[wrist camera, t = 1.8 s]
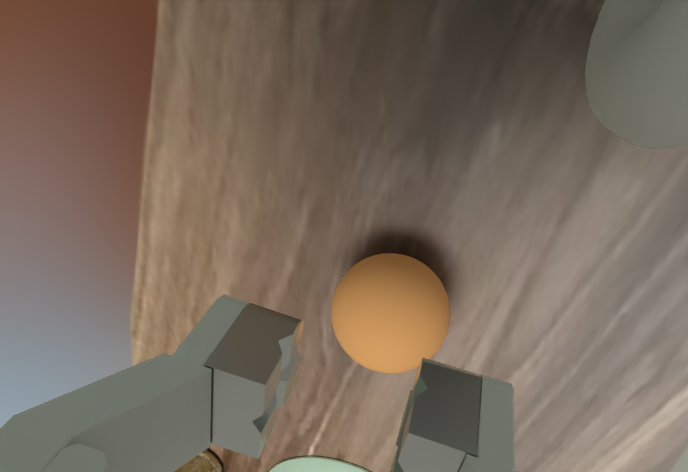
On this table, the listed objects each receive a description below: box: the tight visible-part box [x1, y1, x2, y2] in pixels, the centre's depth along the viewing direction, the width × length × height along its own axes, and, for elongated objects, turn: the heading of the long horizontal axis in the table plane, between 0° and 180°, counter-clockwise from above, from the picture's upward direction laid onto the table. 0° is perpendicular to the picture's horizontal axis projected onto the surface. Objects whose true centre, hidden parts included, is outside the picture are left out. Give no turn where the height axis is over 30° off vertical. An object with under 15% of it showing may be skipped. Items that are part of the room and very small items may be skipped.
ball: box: [331, 253, 450, 373], centre depth 24 cm, size 6×6×6 cm
